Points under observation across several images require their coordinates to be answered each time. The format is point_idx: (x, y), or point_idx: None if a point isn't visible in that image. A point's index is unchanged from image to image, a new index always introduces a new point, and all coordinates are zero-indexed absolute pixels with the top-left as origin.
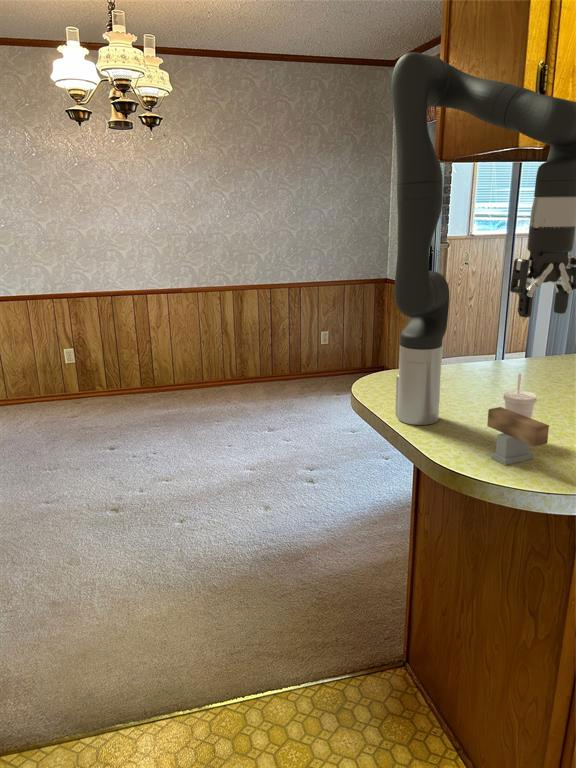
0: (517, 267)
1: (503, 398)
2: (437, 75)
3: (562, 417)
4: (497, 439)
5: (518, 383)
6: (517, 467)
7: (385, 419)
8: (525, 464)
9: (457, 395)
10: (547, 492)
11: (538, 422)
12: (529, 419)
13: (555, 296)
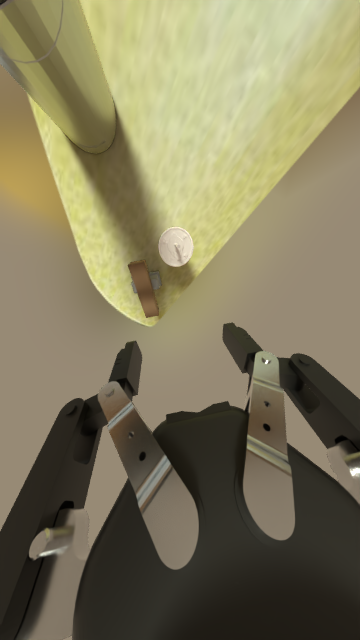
0: (12, 561)
1: (159, 239)
2: None
3: (253, 201)
4: (132, 282)
5: (175, 246)
6: None
7: None
8: None
9: None
10: (142, 324)
11: (154, 308)
12: (151, 301)
13: (241, 346)
